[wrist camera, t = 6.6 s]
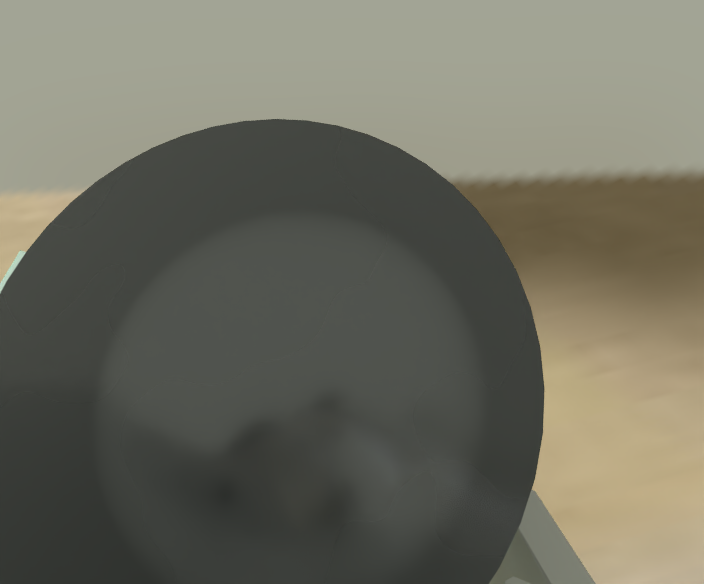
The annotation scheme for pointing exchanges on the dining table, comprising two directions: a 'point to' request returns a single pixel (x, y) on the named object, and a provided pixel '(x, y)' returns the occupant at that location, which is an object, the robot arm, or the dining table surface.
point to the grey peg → (266, 372)
